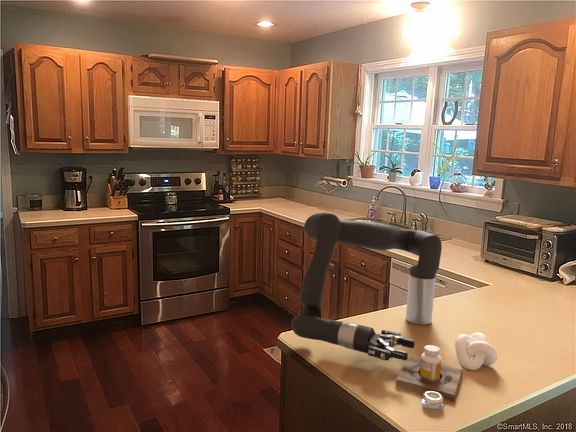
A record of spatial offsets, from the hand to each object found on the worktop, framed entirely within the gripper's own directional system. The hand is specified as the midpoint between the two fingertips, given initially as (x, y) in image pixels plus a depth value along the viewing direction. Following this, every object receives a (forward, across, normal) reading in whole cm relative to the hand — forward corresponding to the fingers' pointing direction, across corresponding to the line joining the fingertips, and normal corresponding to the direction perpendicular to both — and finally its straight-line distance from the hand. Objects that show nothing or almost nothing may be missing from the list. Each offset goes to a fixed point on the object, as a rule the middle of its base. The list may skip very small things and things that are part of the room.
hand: (411, 350), depth 128 cm
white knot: (+15, +16, +8) cm, 23 cm away
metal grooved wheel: (+9, -12, +8) cm, 17 cm away
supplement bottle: (+6, 0, +8) cm, 10 cm away
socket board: (+6, 0, +8) cm, 9 cm away
